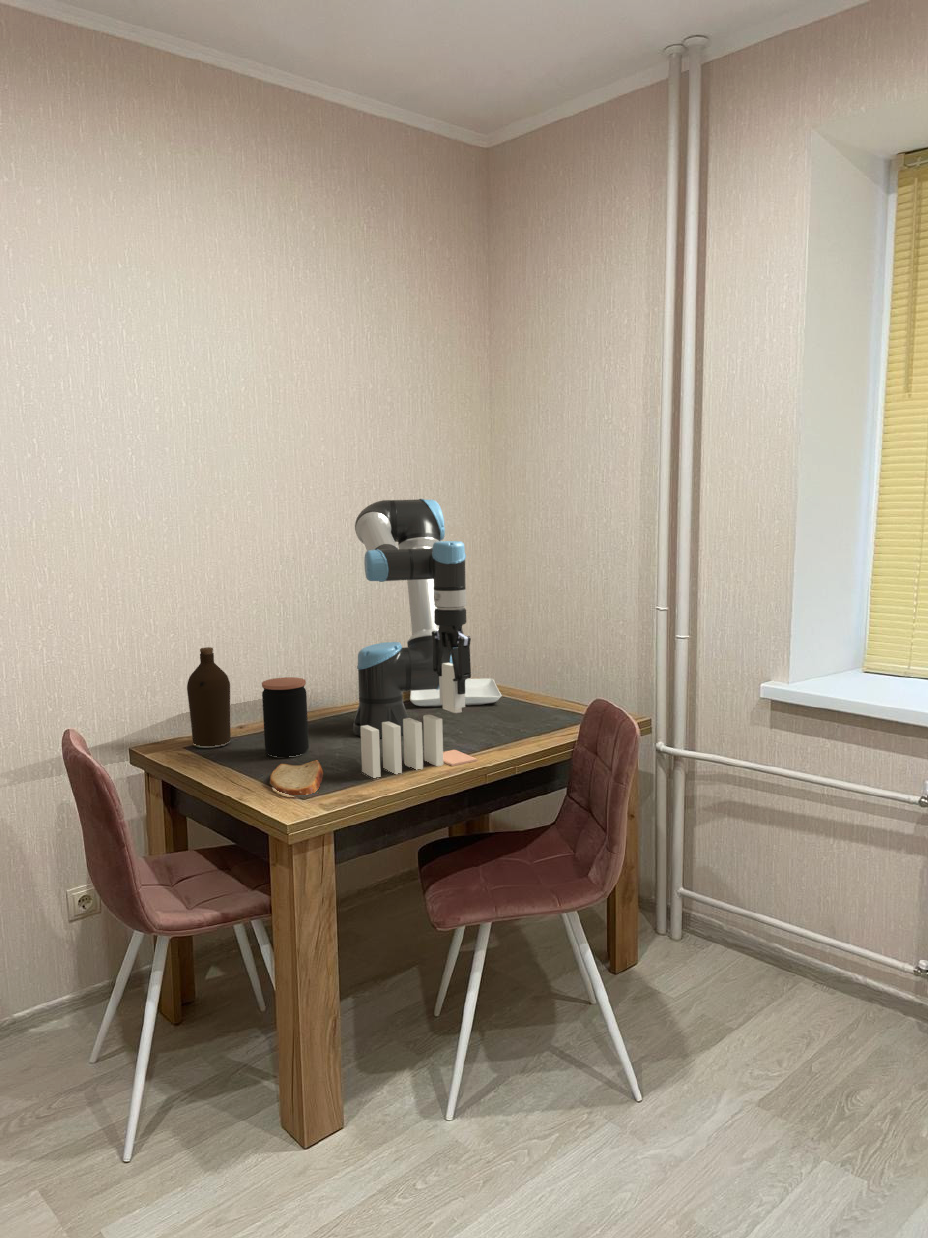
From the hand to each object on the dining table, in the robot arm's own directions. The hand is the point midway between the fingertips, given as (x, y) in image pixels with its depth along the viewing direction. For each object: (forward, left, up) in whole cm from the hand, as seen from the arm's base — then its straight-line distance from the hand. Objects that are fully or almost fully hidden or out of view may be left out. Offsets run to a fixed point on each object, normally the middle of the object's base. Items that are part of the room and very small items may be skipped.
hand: (452, 704), depth 222 cm
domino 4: (-4, -4, -13) cm, 14 cm away
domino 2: (-11, -12, -13) cm, 21 cm away
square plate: (-20, +62, -14) cm, 67 cm away
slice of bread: (-27, -25, -14) cm, 40 cm away
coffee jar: (-42, -5, -13) cm, 44 cm away
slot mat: (0, 0, -13) cm, 13 cm away
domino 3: (-7, -8, -13) cm, 17 cm away
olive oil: (-65, -2, -13) cm, 66 cm away
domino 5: (0, 0, -1) cm, 1 cm away
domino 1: (-14, -17, -13) cm, 26 cm away
